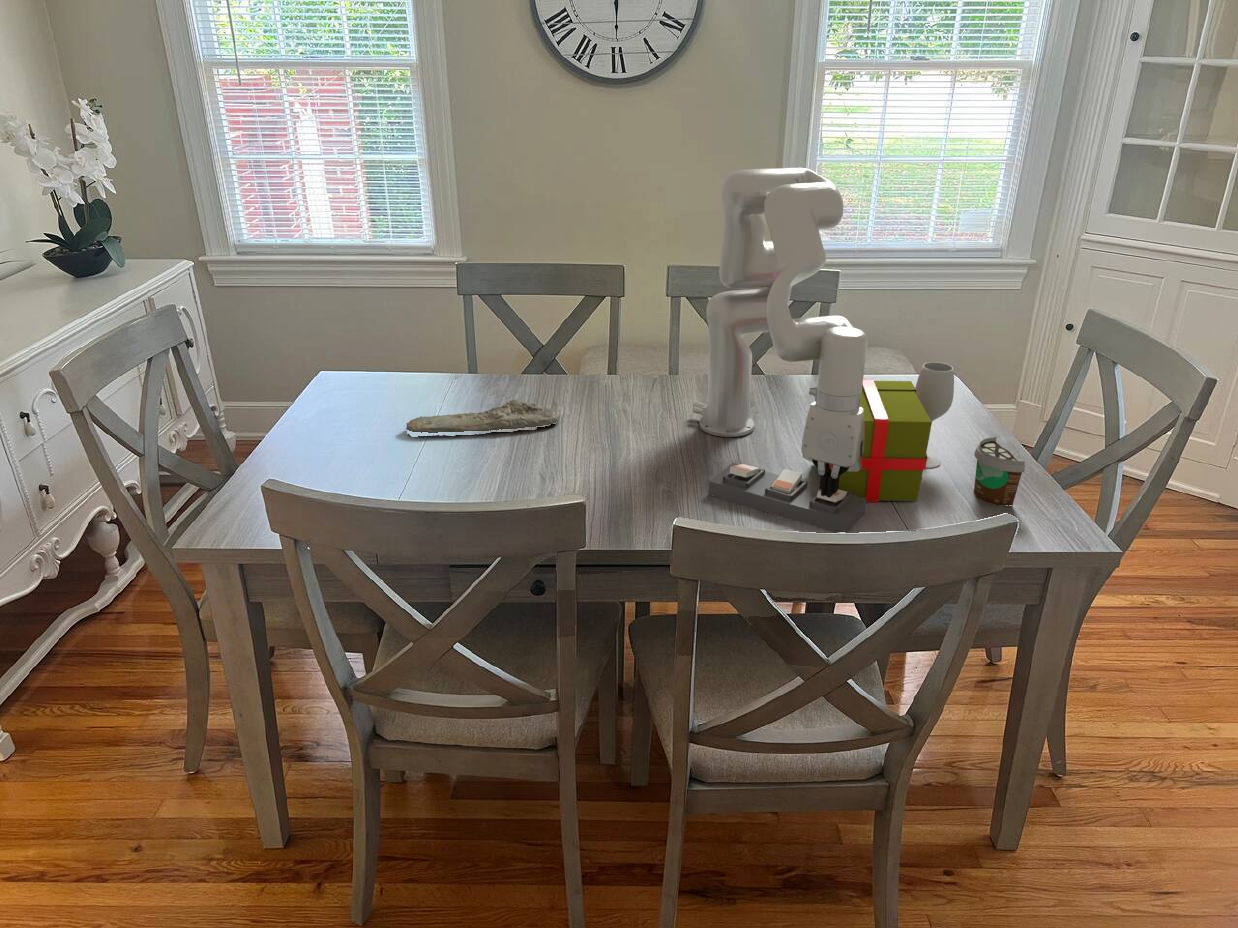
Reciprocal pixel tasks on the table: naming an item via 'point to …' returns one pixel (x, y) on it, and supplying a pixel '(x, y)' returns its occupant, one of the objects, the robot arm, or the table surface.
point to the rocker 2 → (787, 481)
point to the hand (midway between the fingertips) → (828, 493)
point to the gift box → (890, 443)
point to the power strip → (788, 500)
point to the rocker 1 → (744, 470)
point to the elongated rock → (488, 419)
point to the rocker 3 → (833, 496)
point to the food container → (996, 473)
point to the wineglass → (935, 394)
